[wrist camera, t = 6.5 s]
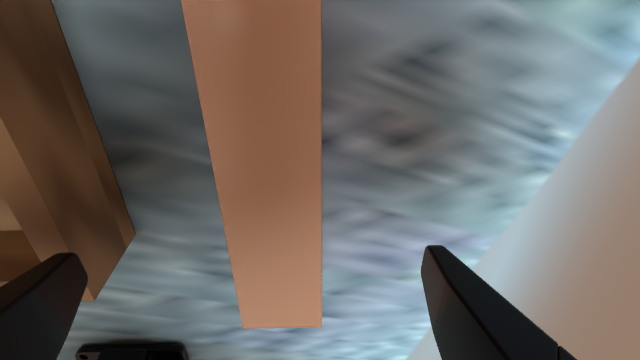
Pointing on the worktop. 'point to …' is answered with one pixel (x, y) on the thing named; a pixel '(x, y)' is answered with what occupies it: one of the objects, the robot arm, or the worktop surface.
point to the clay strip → (265, 148)
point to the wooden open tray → (52, 156)
